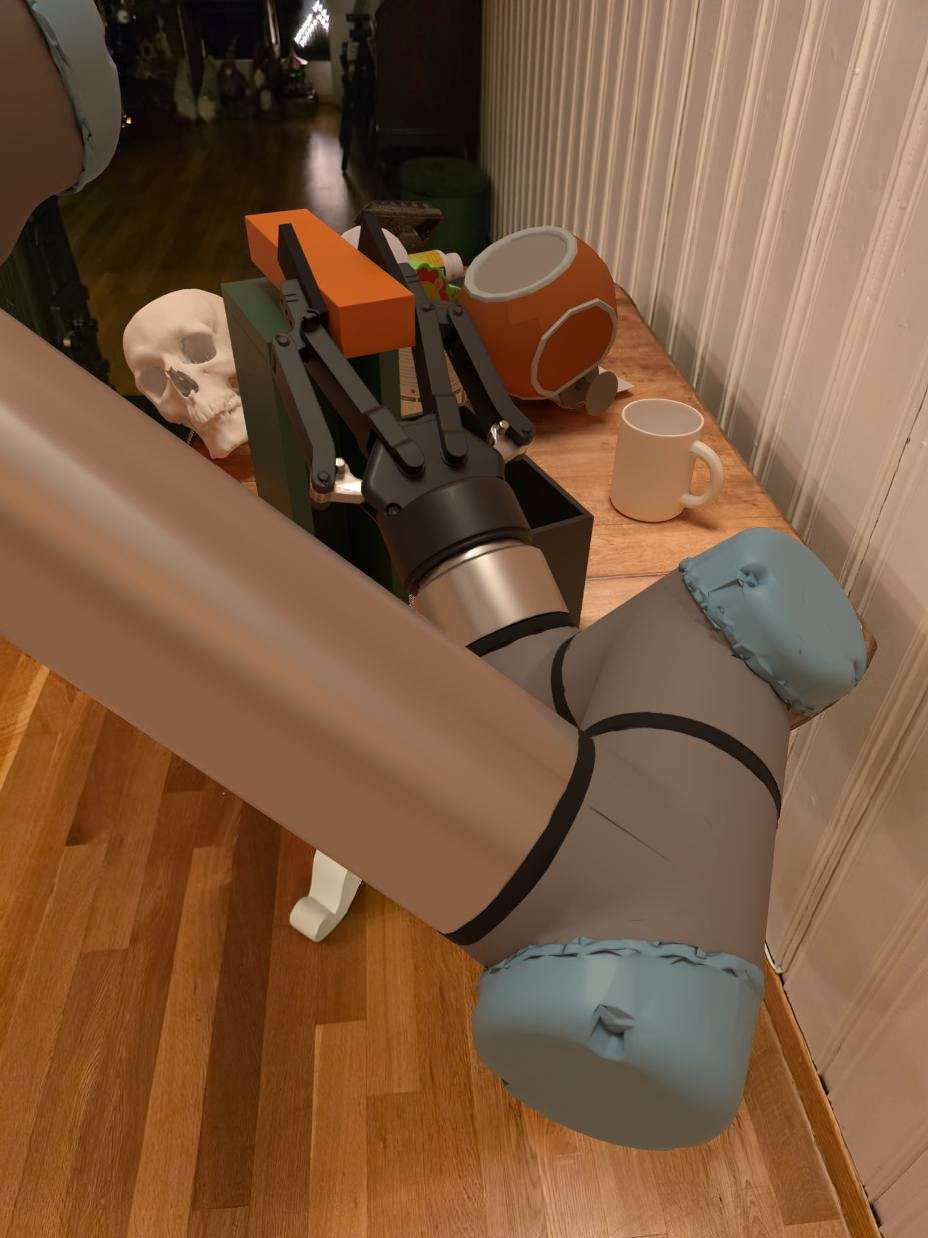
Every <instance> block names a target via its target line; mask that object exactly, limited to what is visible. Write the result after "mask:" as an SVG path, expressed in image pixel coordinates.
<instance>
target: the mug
mask: <svg viewBox="0 0 928 1238" xmlns="http://www.w3.org/2000/svg"><path fill="white" fill-rule="evenodd" d="M704 426H705V419H704V416H703V415H702V413H701V412H700V411H698V409H696V408H694V407H693V406H691V405H689V404H687V403H685V402H681V401H679V400H678V401H677V400H673V399H667V398H643V399H638V400H634V401H632V402H630V403H627V404H626V405H625V406H624V407H623V409H622V410H621V412H620V420H619V427H618V434H617V441H616V447H615V453H614V460H613V466H612V473H611V481H610V489H609V498H610V501H611V504H612V506H613V507H614V508H615V509H616V510H617V511H618V512H620V513H621V514H623V516H625V517H627V518H630V519H633V520H637V521H641V522H648V523H649V522H650V523H654V522H655V523H657V522H658V523H659V522H665V521H669V520H671V519H673V518H675V517H678V516H679V515H680V514H681V513H682V512H683V511H684V509H685V508H687V509H690V510H691V509H692V510H700V509H704V508H707V507H709V506H711V505H712V504H714V503H715V502H716V501H717V500H718V499H719V497H720V495H721V493H722V491H723V488H724V483H725V471H724V467H723V463H722V462H721V459H720V457H719V455H718V454H717V453H716V452H715V451H714V450H713V448H711V447H710V446H709V445H707V444H706V443H704V442H702V441H701V439H702V434H703V430H704ZM697 459H698V460H700V461H701V462H703V463H704V464H705V466H706V467H707V470H708V471H709V472H708V473H709V475H710V476H709V477H710V479H709V480H710V481H709V485H708V488H707V490H706V492H704V494H702V495H695V494H694V495H693V494H691V493H690V489H691V483H692V479H693V477H694V472H695V466H696V463H697Z"/></svg>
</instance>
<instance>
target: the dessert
mask: <svg viewBox="0 0 928 1238" xmlns="http://www.w3.org/2000/svg"><path fill="white" fill-rule="evenodd" d="M598 367H599V374H601V373H603V372H606V371H608V370H607V369H605V368H603V367H601V366H600V365H598ZM616 377H617V380H618V390H617V394H618V393H621V392H623V391H627V390H631V389H633V388H635V387H636V386H635V385H634V384H632V383H630V382H628V381H626V380H625V379H623V378H621V377H619V376H618V375H616ZM547 399H549V400H550V401H552V403H555V404H556V405H557V406H559V407H561V408H562V409H568V408H567V407H565V406H564V405H563V404H562V403H561V402H560V399H559V394H557V395H556V396H553V397H550V398H547ZM584 402H585V401H582V402H580V403H584ZM580 403H577V404H580ZM577 404H575V405H577Z"/></svg>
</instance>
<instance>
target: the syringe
mask: <svg viewBox="0 0 928 1238" xmlns="http://www.w3.org/2000/svg"><path fill="white" fill-rule="evenodd" d="M598 366H599V365H598ZM598 366H597V367H595V368H594V369H592V370H591V371H590V372H588V373H587V374H585V375H584V376H583V377H581V378H580V379H578V380H577V381H576V382H574V383H573V384H571V385H570V386H568V387H567V388H566V389H564V390H563V391H561V392H560V393H559V399H560V402H561V403H562V404H563V405H564V406H565V407H567V408H566V409H569V410H575V409H579V408H581V407H582V406H584V408H585V411H586V412H587V413H588V414H589V415H591V416H592V417H597V416H600V415H602V414H604V413H606V411H608V409H610V407H611V406H612V404H613V402H614V401H615V399H616V396H617V394H618V393H617V390H618V380H617V377H618V376H617V375H616V374H615V373H614V372H612V371H610V370H607V371H606V372H603V373H601V374H599V367H598ZM616 376H617V377H616ZM582 401H585V402H584V403H580V402H582ZM577 403H580V404H577ZM575 404H577V405H575Z"/></svg>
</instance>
